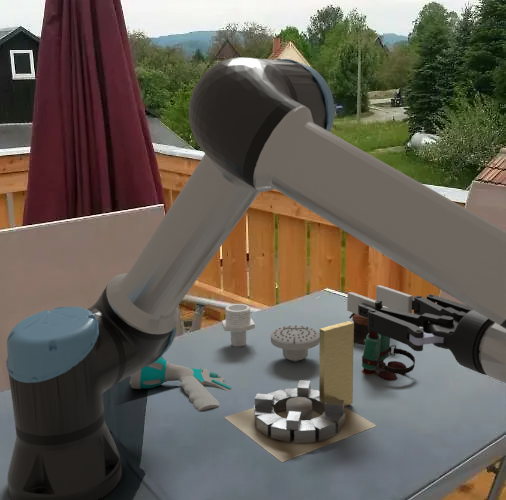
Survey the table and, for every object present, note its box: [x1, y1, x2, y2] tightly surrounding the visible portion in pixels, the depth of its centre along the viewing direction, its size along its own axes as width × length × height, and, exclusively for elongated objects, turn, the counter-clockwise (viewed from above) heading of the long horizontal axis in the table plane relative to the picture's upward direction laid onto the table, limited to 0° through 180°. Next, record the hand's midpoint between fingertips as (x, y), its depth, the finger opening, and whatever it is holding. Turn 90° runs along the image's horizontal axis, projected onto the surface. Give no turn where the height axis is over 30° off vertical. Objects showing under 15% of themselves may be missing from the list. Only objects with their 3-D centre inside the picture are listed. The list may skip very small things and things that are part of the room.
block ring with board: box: [253, 320, 354, 443], centre depth 104 cm, size 18×14×14 cm
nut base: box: [223, 388, 378, 463], centre depth 104 cm, size 18×16×4 cm
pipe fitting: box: [221, 303, 255, 348], centre depth 139 cm, size 6×7×8 cm
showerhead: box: [270, 324, 320, 362], centre depth 127 cm, size 9×7×10 cm
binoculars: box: [361, 329, 416, 381], centre depth 121 cm, size 9×11×10 cm
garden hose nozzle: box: [128, 355, 232, 412], centre depth 118 cm, size 7×18×20 cm
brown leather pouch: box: [348, 313, 369, 346], centre depth 140 cm, size 12×10×8 cm
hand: (364, 297), depth 98 cm, fingers open, 5 cm apart
